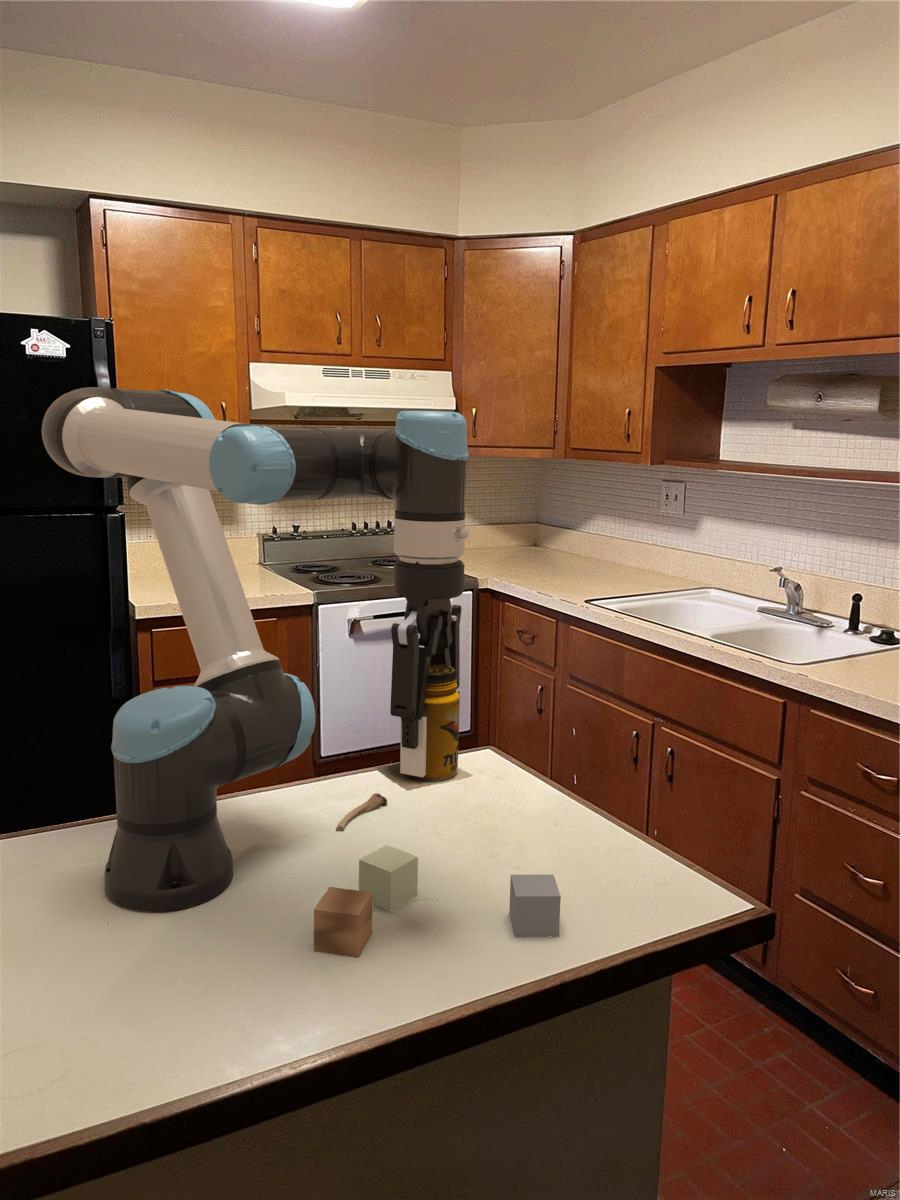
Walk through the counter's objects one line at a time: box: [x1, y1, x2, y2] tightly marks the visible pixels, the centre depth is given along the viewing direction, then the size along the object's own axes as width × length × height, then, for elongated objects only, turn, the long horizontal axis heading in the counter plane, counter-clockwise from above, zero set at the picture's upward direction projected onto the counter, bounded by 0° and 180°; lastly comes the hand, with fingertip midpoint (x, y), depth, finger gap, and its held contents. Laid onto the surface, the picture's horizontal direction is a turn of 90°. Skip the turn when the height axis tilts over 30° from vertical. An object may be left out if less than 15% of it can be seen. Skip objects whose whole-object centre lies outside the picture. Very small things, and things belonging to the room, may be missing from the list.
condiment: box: [373, 664, 474, 792], centre depth 99 cm, size 7×8×12 cm
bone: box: [335, 792, 388, 832], centre depth 131 cm, size 3×11×2 cm, turn 149°
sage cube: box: [358, 844, 419, 912], centre depth 109 cm, size 5×5×5 cm
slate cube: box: [508, 874, 562, 938], centre depth 103 cm, size 5×5×5 cm
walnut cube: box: [313, 886, 373, 959], centre depth 99 cm, size 5×5×5 cm
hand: (425, 763), depth 101 cm, fingers closed on condiment, 6 cm apart
